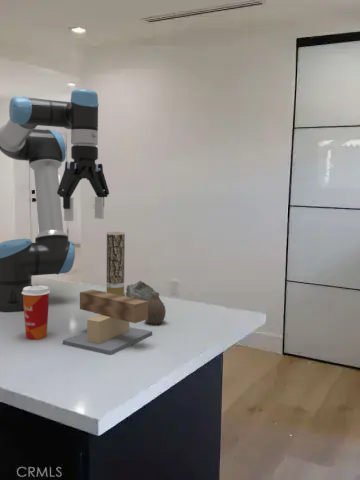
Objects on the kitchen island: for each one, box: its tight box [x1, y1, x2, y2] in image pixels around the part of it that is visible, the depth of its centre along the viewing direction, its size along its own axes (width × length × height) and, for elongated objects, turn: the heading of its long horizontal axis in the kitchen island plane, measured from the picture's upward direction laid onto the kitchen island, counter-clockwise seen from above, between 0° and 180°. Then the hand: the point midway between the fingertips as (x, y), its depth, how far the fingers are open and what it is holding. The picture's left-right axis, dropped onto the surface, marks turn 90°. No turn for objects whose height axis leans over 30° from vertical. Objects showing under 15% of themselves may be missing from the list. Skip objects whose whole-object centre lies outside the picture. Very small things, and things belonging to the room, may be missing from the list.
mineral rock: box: [125, 280, 160, 301], centre depth 171 cm, size 13×11×10 cm
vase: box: [145, 295, 167, 325], centre depth 153 cm, size 7×7×9 cm
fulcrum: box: [62, 314, 153, 356], centre depth 136 cm, size 16×20×7 cm
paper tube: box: [106, 231, 126, 296], centre depth 188 cm, size 7×7×25 cm
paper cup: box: [22, 285, 51, 341], centre depth 137 cm, size 8×8×14 cm
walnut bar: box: [79, 289, 148, 324], centre depth 136 cm, size 22×5×5 cm, turn 52°
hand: (84, 219), depth 142 cm, fingers open, 13 cm apart
